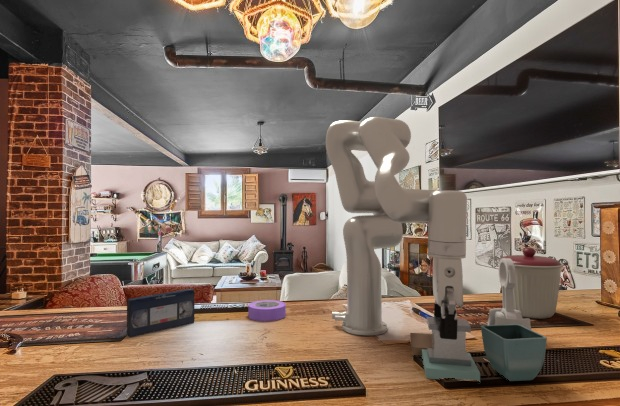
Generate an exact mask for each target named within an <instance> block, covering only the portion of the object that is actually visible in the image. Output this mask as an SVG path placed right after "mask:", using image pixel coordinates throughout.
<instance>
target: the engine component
mask: <svg viewBox="0 0 620 406" xmlns="http://www.w3.org/2000/svg"><path fill="white" fill-rule="evenodd" d="M501 258H502V257H501ZM501 258H500V259H501ZM498 278H499V283H500V286H501V295H502V296H501V297H502V308H501V307H497V308H496V307H495V308H491V309H489V311H488V319H487V325H509V324H519V325H522V326H523V327H526V328H528V329H530V330H532V327H531V318H526V317H525V318H524V317H522V314H521V312H520V311H519V310H514V296H513V288H514V287H515V284H516V271H515V266H514V263H513V261H512V260H511V259H510V258H502V259H501V260H500V262H499V263H498Z"/></svg>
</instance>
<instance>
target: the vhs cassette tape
mask: <svg viewBox="0 0 620 406" xmlns="http://www.w3.org/2000/svg"><path fill="white" fill-rule="evenodd" d="M195 320H196V319H195V289H194V288H189V289H188V288H187V289H180V290H174V291H169V292H162V293H156V294H150V295H142V296H138V297H132V298H131V297H130V298H127V299H126V335H127V337H129V338H134V337H138V336H144V335H148V334H151V333H156V332H161V331H164V330H165V331H166V330H170V329H174V328H178V327H183V326H187V325H191V324H194V323H195Z"/></svg>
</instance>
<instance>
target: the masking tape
mask: <svg viewBox="0 0 620 406" xmlns="http://www.w3.org/2000/svg"><path fill="white" fill-rule="evenodd" d="M286 306H287V305H286V302H283V301H281V300H275V299H264V300H263V299H262V300H256V301H252V302H250V303H248V305H247V307H248V313H247V314H248V316H247V317H248V318H249V320H252V321H255V322H256V321H257V322H273V321H279V320H282V319H284V318H285V317H286V312H287V311H286V309H287V308H286Z"/></svg>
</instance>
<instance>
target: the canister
mask: <svg viewBox="0 0 620 406" xmlns="http://www.w3.org/2000/svg"><path fill="white" fill-rule="evenodd" d="M502 258H510V259H511V260H512V261H513V263H514V266H515V271H516V284H515V287H514V288H513V296H514V310H519V311H520V312H521V314H522V318H525V319H526V318H529V319H535V320H536V319H540V320H541V319H548V318H552V317H553V316H554V314H555V313H556V310H557V305H558V300H559V299H558V298H559V292H560V284H561V283H560V281H561V273H562V268H564V267H565V264H564V263H562V262H560V261H559V260H557V259H556V258H553V257H548V256H542V255H536V250H535V248H533V247H530V246H529V247H526V246H525V247H524V248H523V249H522V254H512V255H510V254H509V255H504V256H502V257H501V258H498V259H497V260H496V262H497V263H498V264H499V262H500V260H501V259H502Z"/></svg>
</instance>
